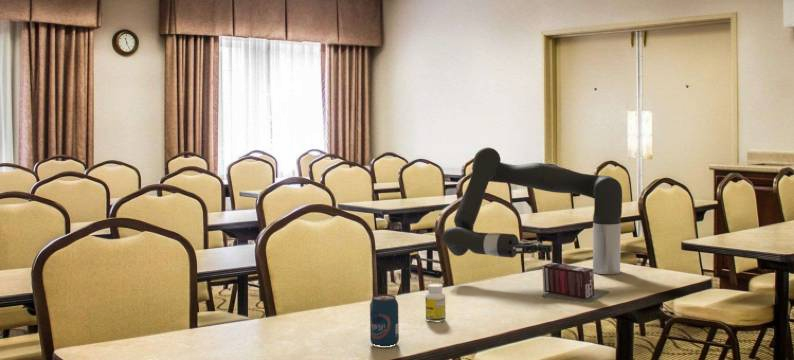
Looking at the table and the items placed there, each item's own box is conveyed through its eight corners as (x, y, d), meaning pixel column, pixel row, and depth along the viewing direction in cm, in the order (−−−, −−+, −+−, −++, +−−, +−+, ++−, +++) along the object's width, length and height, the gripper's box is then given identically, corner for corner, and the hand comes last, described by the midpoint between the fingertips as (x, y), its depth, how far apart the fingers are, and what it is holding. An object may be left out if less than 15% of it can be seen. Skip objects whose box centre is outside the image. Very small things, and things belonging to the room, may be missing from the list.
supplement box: (552, 288, 282) (595, 296, 270) (542, 291, 278) (585, 300, 267) (551, 261, 280) (594, 268, 269) (541, 264, 277) (584, 271, 265)
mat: (563, 287, 287) (563, 285, 287) (608, 292, 279) (608, 290, 279) (542, 296, 274) (542, 295, 274) (589, 302, 266) (589, 300, 265)
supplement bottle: (422, 319, 247) (422, 284, 246) (440, 317, 249) (439, 282, 248) (430, 323, 242) (430, 287, 241) (449, 321, 244) (448, 285, 243)
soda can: (366, 347, 219) (365, 299, 218) (376, 340, 226) (376, 293, 225) (392, 349, 217) (392, 300, 216) (402, 342, 223) (402, 295, 222)
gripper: (491, 236, 283) (542, 239, 274) (509, 230, 294) (559, 234, 285) (491, 259, 284) (542, 264, 274) (510, 253, 295) (559, 257, 285)
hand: (551, 248), depth 280 cm, fingers closed
